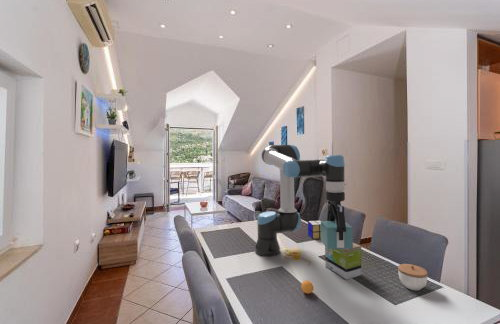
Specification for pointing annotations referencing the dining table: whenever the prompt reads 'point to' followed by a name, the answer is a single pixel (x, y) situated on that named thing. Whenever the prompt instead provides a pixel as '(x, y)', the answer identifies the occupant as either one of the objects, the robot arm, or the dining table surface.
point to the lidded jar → (412, 276)
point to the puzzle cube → (314, 229)
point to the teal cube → (335, 235)
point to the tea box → (344, 261)
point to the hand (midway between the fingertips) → (336, 242)
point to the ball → (307, 287)
